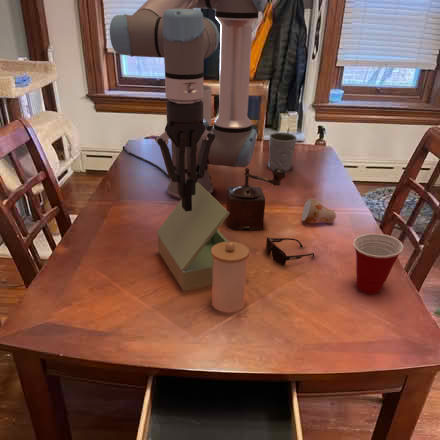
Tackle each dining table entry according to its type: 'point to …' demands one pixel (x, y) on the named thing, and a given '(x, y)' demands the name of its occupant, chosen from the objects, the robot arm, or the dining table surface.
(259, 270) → the dining table surface
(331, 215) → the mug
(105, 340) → the dining table surface
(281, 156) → the grey pot
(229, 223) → the brown manual coffee grinder
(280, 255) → the sunglasses
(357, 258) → the plastic cup
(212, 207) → the box lid
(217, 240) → the box
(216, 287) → the canister
